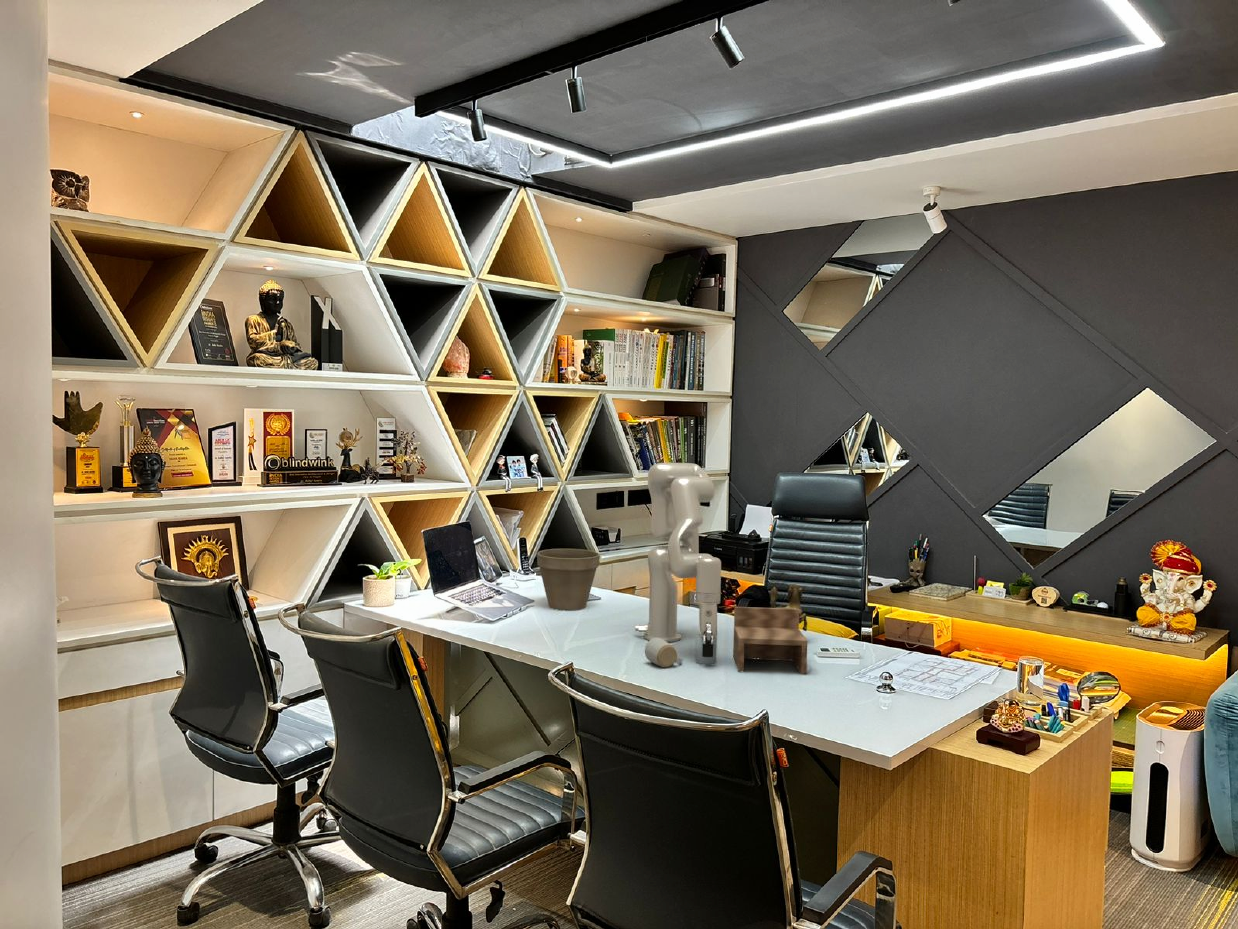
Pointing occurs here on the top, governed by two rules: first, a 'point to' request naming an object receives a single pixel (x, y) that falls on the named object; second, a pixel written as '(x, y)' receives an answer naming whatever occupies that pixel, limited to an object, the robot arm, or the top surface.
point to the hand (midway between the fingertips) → (706, 653)
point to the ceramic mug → (661, 652)
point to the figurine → (791, 601)
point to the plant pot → (567, 576)
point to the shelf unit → (768, 636)
